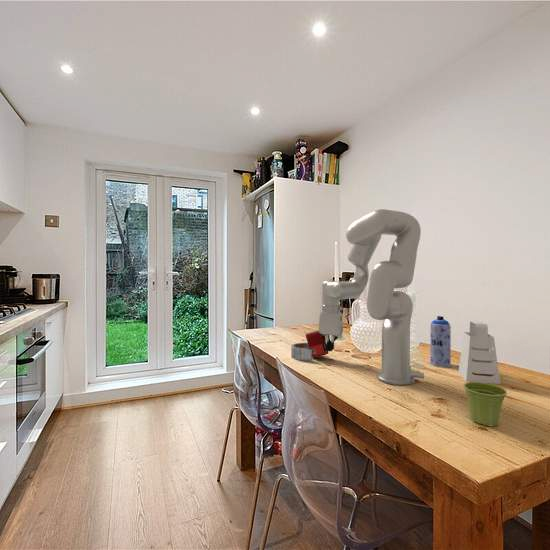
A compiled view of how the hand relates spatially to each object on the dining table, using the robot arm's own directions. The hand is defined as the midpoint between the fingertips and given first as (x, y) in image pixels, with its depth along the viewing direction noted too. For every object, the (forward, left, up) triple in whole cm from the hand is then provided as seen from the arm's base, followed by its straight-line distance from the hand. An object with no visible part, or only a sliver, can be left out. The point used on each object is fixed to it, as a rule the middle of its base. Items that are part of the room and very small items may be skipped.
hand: (330, 350), depth 146 cm
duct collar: (+11, 0, -4) cm, 12 cm away
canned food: (+4, +1, -3) cm, 5 cm away
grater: (-56, +2, -4) cm, 56 cm away
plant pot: (-53, +41, -4) cm, 67 cm away
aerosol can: (-44, -11, -4) cm, 45 cm away
